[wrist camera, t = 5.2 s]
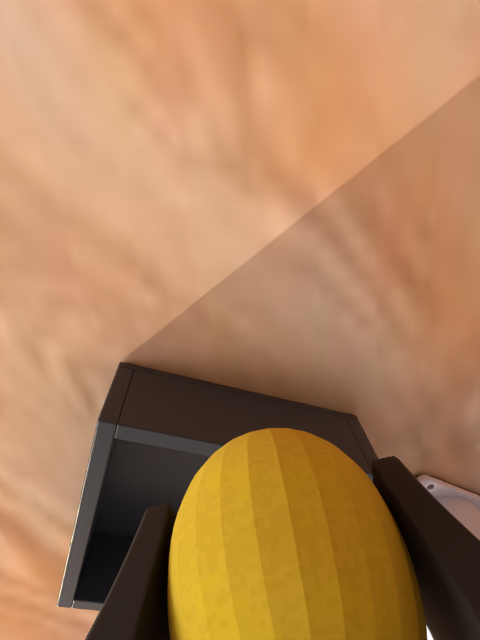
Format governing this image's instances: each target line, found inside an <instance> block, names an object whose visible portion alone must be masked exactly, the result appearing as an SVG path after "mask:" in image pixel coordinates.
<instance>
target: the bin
mask: <svg viewBox="0 0 480 640" xmlns="http://www.w3.org/2000/svg"><path fill="white" fill-rule="evenodd" d="M267 428H290V429H295V430H300V431H305V432H308V433H311V434H313V435H315V436H317V437H320V438H322V439H324V440H326V441H328V442H330V443H331V444H333V445H335V446H336V447H337V448H339V449H340V450H341V451H342V452H343V453H345V454H346V455H347V456H348V457H349V458H351V459H352V460H353V461H354V462H355V463H356V464H357V465H359V467H360V468H361V469H362V470H363V471H364V472H365V473H366V474H367V476H368V477H369V478H370V480H371V481H372V483H373V476H372V462H371V461H372V460H377V459H378V457H377V456H376V454H375V452H374V450H373V448H372V446H371V444H370V442H369V440H368V438H367V436H366V434H365V432H364V430H363V428H362V426H361V424H360V422H359V421H358V418H357V417H356V416H353V415H349V414H345V413H340V412H336V411H332V410H327V409H323V408H319V407H314V406H310V405H305V404H301V403H297V402H292V401H288V400H284V399H279V398H275V397H270V396H266V395H262V394H257V393H253V392H249V391H244V390H240V389H236V388H231V387H227V386H222V385H218V384H214V383H209V382H205V381H201V380H196V379H192V378H187V377H183V376H179V375H174V374H170V373H166V372H161V371H157V370H152V369H148V368H144V367H139V366H135V365H131V364H126V363H122V362H120V363H119V366H118V369H117V371H116V374H115V376H114V379H113V382H112V384H111V387H110V389H109V392H108V395H107V397H106V400H105V403H104V405H103V408H102V410H101V413H100V416H99V418H98V421H97V426H96V430H95V435H94V439H93V444H92V448H91V453H90V457H89V462H88V466H87V471H86V475H85V480H84V484H83V489H82V493H81V498H80V503H79V507H78V512H77V516H76V521H75V525H74V530H73V534H72V539H71V543H70V548H69V552H68V557H67V561H66V566H65V570H64V575H63V579H62V584H61V588H60V593H59V597H58V602H57V606H58V607H68V608H71V607H72V608H77V609H87V610H98V611H100V610H101V608H102V606H103V604H104V602H105V600H106V598H107V596H108V594H109V592H110V590H111V588H112V585H113V583H114V581H115V579H116V577H117V575H118V573H119V571H120V569H121V567H122V564H123V562H124V560H125V558H126V555H127V553H128V551H129V549H130V546H131V544H132V542H133V540H134V537H135V535H136V533H137V530H138V528H139V525H140V523H141V521H142V518H143V516H144V513H145V511H146V510H147V508H148V507H153V506H158V505H163V504H167V503H170V505H171V507H172V509H173V511H174V514H175V516H176V517H177V513H178V511H179V508H180V506H181V503H182V501H183V498H184V496H185V494H186V492H187V490H188V487H189V485H190V483H191V481H192V480H193V478H194V476H195V474H196V473H197V472H198V471H199V469H200V468H201V467H202V466H203V465H204V464H205V462H206V461H207V460H208V459H209V458H210V457H211V456H212V454H213V453H215V452H216V451H217V450H218V449H220V448H221V447H223V446H224V445H225V444H227V443H228V442H230V441H231V440H233V439H234V438H237V437H239V436H242V435H244V434H246V433H249V432H252V431H257V430H262V429H267Z"/></svg>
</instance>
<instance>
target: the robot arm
mask: <svg viewBox="0 0 480 640" xmlns="http://www.w3.org/2000/svg"><path fill="white" fill-rule="evenodd" d="M371 462H372V476H373V484H374V485H375V487H376V488H377V490H378V492H379V493H380V495H381V497H382V498H383V500H384V502H385V503H386V505H387V507H388V509H389V510H390V512H391V514H392V515H393V517H394V519H395V521H396V523H397V525H398V527H399V529H400V531H401V534H402V536H403V539H404V541H405V543H406V546H407V549H408V552H409V554H410V557H411V560H412V563H413V567H414V570H415V574H416V578H417V581H418V585H419V590H420V594H421V599H422V603H423V609H424V615H425V621H426V627H427V640H480V496H479V495H477V494H474V493H472V492H469V491H466V490H464V489H461V488H459V487H456V486H453V485H451V484H448V483H446V482H443V481H441V480H438V479H435V478H433V477H430V476H428V475H420V476H418V477H417V478H415V477H414V475H413V474H412V473H411V472H410V471H409V470H408V469H407V468H406V467H405V466H404V465H403V463H402V462H401V461H400V460H399V459H398V458H397V457H395V456H392V457H387V458H382V459H377V460H372V461H371ZM175 520H176V516H175V514H174V511H173V509H172V507H171V505H170V503H167V504H163V505H158V506H153V507H148V508H147V510H146V511H145V513H144V516H143V518H142V521H141V523H140V525H139V528H138V530H137V533H136V535H135V537H134V540H133V542H132V544H131V546H130V549H129V551H128V553H127V555H126V558H125V560H124V562H123V564H122V567H121V569H120V571H119V573H118V575H117V577H116V579H115V581H114V583H113V585H112V588H111V590H110V592H109V594H108V596H107V598H106V600H105V602H104V604H103V606H102V608H101V610H100V612H99V614H98V616H97V618H96V620H95V622H94V623H93V625H92V627H91V629H90V631H89V633H88V635H87V637H86V639H85V640H170V634H169V623H168V607H167V586H168V565H169V552H170V544H171V538H172V533H173V528H174V524H175Z"/></svg>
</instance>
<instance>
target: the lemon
mask: <svg viewBox="0 0 480 640" xmlns="http://www.w3.org/2000/svg"><path fill="white" fill-rule="evenodd" d="M167 607H168V623H169V634H170V640H427V627H426V621H425V615H424V609H423V603H422V599H421V594H420V590H419V585H418V581H417V578H416V574H415V570H414V567H413V563H412V560H411V557H410V554H409V552H408V549H407V546H406V543H405V541H404V539H403V536H402V534H401V531H400V529H399V527H398V525H397V523H396V521H395V519H394V517H393V515H392V514H391V512H390V510H389V509H388V507H387V505H386V503H385V502H384V500H383V498H382V497H381V495H380V493H379V492H378V490H377V488H376V487H375V485H374V484H373V483H372V481H371V480H370V478H369V477H368V476H367V474H366V473H365V472H364V471H363V470H362V469H361V468H360V467H359V465H357V464H356V463H355V462H354V461H353V460H352V459H351V458H349V457H348V456H347V455H346V454H345V453H343V452H342V451H341V450H340V449H339V448H337V447H336V446H335V445H333V444H331V443H330V442H328V441H326V440H324V439H322V438H320V437H317V436H315V435H313V434H311V433H308V432H305V431H300V430H295V429H290V428H267V429H262V430H257V431H252V432H249V433H246V434H244V435H242V436H239V437H237V438H234V439H233V440H231V441H230V442H228V443H227V444H225V445H224V446H223V447H221V448H220V449H218V450H217V451H216V452H215V453H213V454H212V456H211V457H210V458H209V459H208V460H207V461H206V462H205V464H204V465H203V466H202V467H201V468H200V469H199V471H198V472H197V473H196V474H195V476H194V478H193V480H192V481H191V483H190V485H189V487H188V490H187V492H186V494H185V496H184V498H183V501H182V503H181V506H180V508H179V511H178V513H177V517H176V520H175V524H174V528H173V533H172V538H171V544H170V552H169V565H168V586H167Z"/></svg>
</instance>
